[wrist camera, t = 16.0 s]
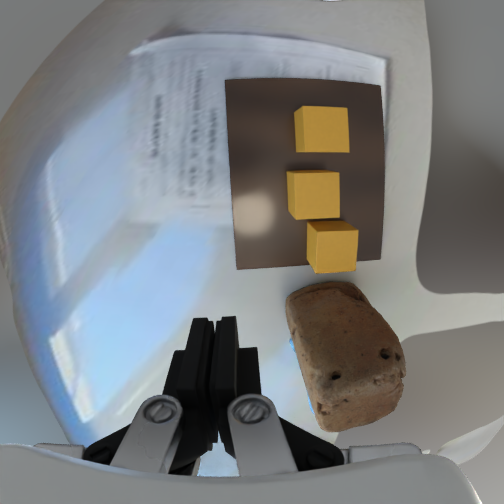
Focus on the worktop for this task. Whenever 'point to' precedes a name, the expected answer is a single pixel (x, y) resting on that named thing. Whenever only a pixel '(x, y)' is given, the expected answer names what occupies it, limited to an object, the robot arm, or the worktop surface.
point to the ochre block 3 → (331, 246)
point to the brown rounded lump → (345, 355)
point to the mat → (300, 166)
